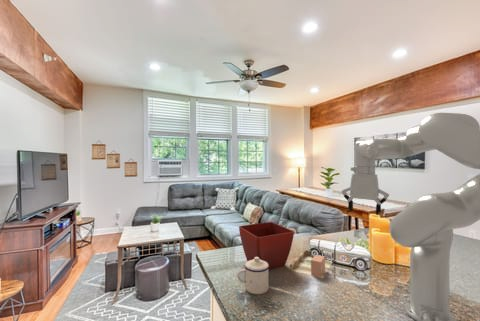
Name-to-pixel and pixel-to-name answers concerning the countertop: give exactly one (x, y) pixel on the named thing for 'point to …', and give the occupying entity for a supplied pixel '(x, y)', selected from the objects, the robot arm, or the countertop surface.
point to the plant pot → (267, 243)
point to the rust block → (318, 265)
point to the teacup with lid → (256, 276)
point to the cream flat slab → (306, 264)
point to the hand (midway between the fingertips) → (364, 212)
